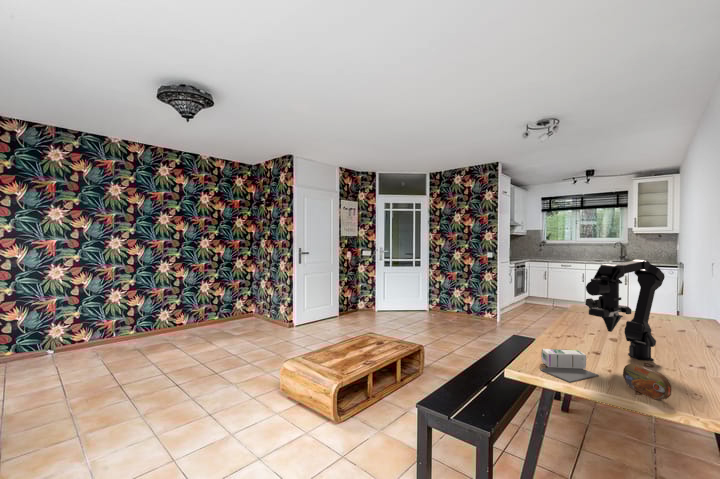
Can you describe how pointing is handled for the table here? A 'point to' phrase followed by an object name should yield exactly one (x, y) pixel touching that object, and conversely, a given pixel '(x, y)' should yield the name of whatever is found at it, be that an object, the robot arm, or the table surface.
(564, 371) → the mat
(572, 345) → the table surface
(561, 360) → the syrup box
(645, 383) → the tin
